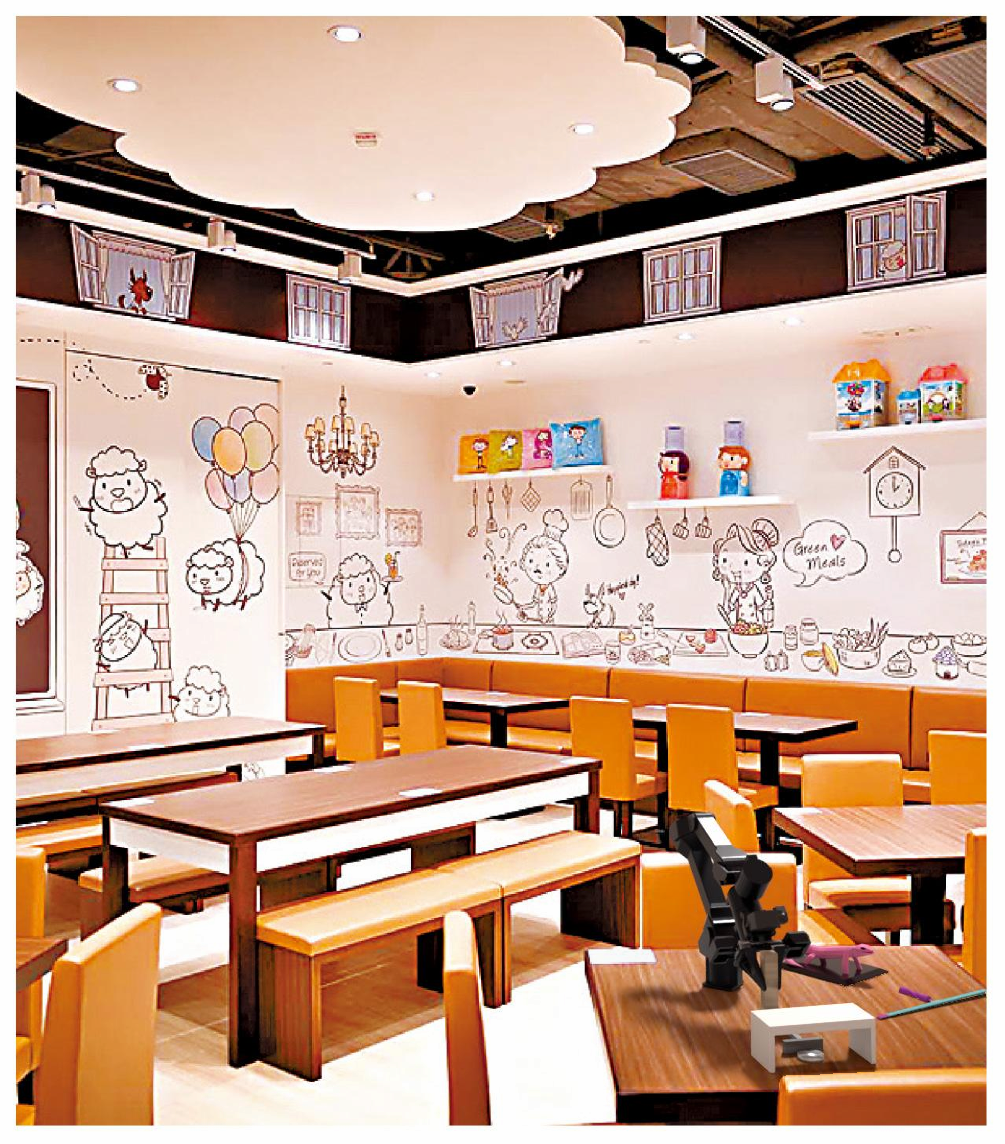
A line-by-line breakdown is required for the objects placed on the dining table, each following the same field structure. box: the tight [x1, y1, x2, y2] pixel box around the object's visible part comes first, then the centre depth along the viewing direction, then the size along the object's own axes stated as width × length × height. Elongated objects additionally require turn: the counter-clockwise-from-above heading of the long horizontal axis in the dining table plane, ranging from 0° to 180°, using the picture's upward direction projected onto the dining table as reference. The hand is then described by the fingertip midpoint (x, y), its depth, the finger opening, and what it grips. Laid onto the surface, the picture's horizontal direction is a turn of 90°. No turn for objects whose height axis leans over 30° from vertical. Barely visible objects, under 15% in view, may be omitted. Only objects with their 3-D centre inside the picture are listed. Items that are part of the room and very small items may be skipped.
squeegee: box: [876, 986, 987, 1021], centre depth 235 cm, size 29×2×10 cm
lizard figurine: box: [782, 943, 889, 987], centre depth 255 cm, size 15×20×7 cm
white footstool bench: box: [750, 1002, 877, 1074], centre depth 205 cm, size 8×19×8 cm, turn 101°
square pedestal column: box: [759, 950, 824, 1055], centre depth 216 cm, size 16×7×13 cm, turn 11°
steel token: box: [796, 1049, 825, 1063], centre depth 206 cm, size 4×4×1 cm
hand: (772, 989), depth 221 cm, fingers closed on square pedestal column, 2 cm apart
